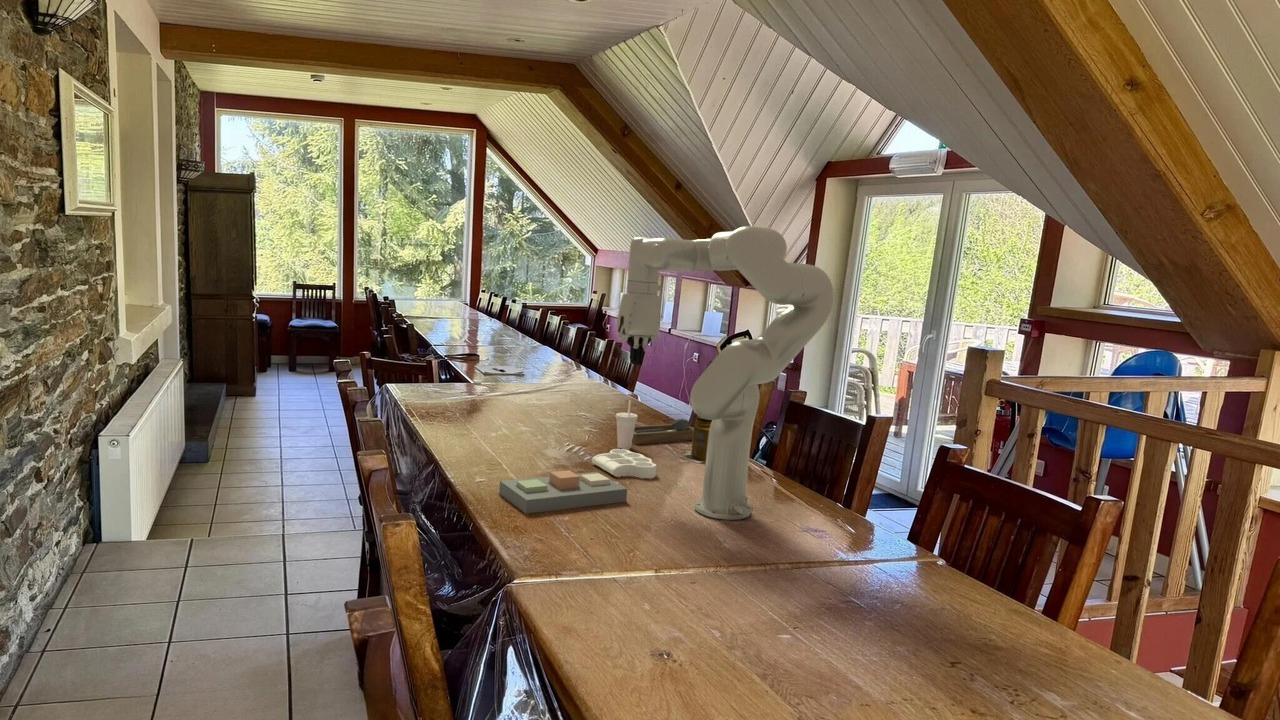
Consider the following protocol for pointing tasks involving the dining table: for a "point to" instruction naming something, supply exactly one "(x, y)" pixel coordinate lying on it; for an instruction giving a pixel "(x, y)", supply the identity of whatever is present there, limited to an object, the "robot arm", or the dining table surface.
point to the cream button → (594, 479)
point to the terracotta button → (564, 479)
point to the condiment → (699, 440)
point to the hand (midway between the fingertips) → (636, 364)
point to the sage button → (531, 486)
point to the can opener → (676, 425)
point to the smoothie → (625, 428)
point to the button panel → (561, 495)
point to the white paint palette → (626, 464)
